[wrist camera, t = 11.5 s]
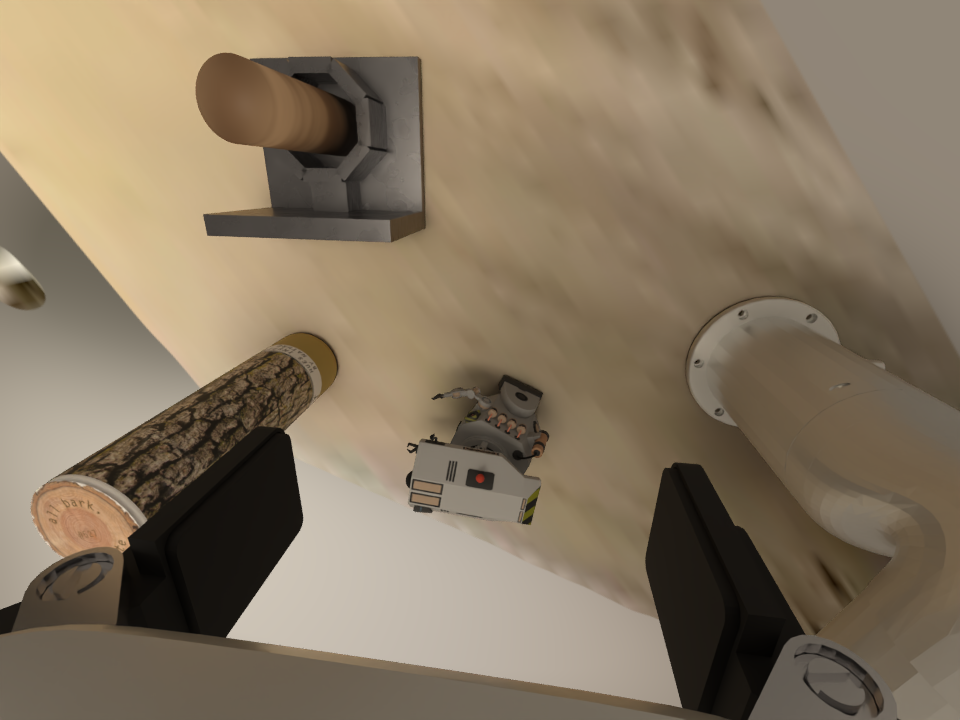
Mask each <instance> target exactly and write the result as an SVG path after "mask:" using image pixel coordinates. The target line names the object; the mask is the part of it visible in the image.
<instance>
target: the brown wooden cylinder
mask: <svg viewBox="0 0 960 720" xmlns="http://www.w3.org/2000/svg"><path fill="white" fill-rule="evenodd" d="M196 99H197V103H198V107H199V110H200V112H201V115H202V117H203V119H204V120H205V122H206V123H207V125H208V126H209V127H210V128H211V130H212V131H213V132H214V133H216V134H217V135H218V136H219V137H221V138H222V139H224V140H226V141H228V142H231V143H235V144H242V145H251V146H259V147H267V148H275V149H284V150H292V151H300V152H308V153H317V154H325V155H333V156H347V155H348V154H349V153H350V152H351V150H352V149H353V148H354V147H355V145H356V144H357V143H358V133H357V120H356V107H355V106H354V105H353V104H352V103H351V102H349V101H347V100H345V99H343V98H341V97H338V96H336V95H333V94H331V93H329V92H326V91H324V90H321V89H319V88H316V87H314V86H312V85H309V84H307V83H304V82H302V81H299V80H297V79H295V78H292V77H290V76H287V75H285V74H283V73H280V72H278V71H275V70H273V69H270V68H268V67H266V66H263V65H261V64H258V63H256V62H254V61H251V60H249V59H246V58H244V57H241V56H239V55H236V54H232V53H220V54H216V55H214V56H212V57H211V58H209V59H208V60H207V61H206V62H205V63H204V64H203V66H202V67H201V69H200V71H199V73H198V76H197V81H196Z"/></svg>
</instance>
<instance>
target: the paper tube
mask: <svg viewBox="0 0 960 720" xmlns="http://www.w3.org/2000/svg"><path fill="white" fill-rule="evenodd" d="M336 373H337V364H336V360H335V357H334V355H333V353H332V351H331V350H330V348H329V347H328V346H327V345H326V344H325V343H324V342H323V341H321V340H320V339H318V338H317V337H315V336H312V335H309V334H305V333H296V334H292V335H289V336H287V337H285V338H283V339H282V340H280V341H278V342H277V343H275V344H273V345H272V346H270V347H268V348H266V349H265V350H263V351H261V352H260V353H258V354H256V355H255V356H253V357H251V358H250V359H248V360H247V361H245V362H243V363H242V364H240V365H238V366H237V367H235V368H233V369H232V370H230V371H228V372H227V373H225V374H224V375H222V376H220V377H219V378H217V379H215V380H214V381H212V382H210V383H209V384H207V385H206V386H204V387H202V388H201V389H199V390H197V391H196V392H194V393H192V394H191V395H189V396H187V397H186V398H184V399H183V400H181V401H180V402H178V403H176V404H174V405H173V406H171V407H169V408H168V409H166V410H164V411H163V412H161V413H160V414H158V415H156V416H155V417H153V418H151V419H150V420H148V421H146V422H145V423H143V424H141V425H140V426H138V427H137V428H135V429H133V430H132V431H130V432H128V433H127V434H125V435H123V436H122V437H120V438H119V439H117V440H115V441H114V442H112V443H110V444H109V445H107V446H105V447H104V448H102V449H101V450H99V451H97V452H96V453H94V454H92V455H91V456H89V457H87V458H86V459H84V460H82V461H81V462H79V463H77V464H76V465H74V466H73V467H71V468H69V469H68V470H66V471H64V472H63V473H61V474H59V475H58V476H56V477H55V478H53V479H51V480H50V481H49V482H47V483H46V484H44V485H42V486H41V487H40V488H38V489H37V491H36V492H35V494H34V495H33V498H32V501H31V514H32V519H33V521H34V524H35V526H36V528H37V530H38V532H39V534H40V535H41V537H42V538H43V539H44V540H45V542H46V543H47V544H48V545H49V546H50V547H51V548H52V549H53V550H54V551H55V552H56V553H57V554H58V555H59V556H61V557H62V558H65V557H67V556H69V555H72V554H74V553H77V552H80V551H82V550H86V549H91V548H95V547H112V548H117V549H118V550H119V551H121V552H122V553H123V552H124V551H125V550H126V549H127V548H128V547H129V546H130V544H129V541H128V537H129V536H130V535H131V534H133V533H134V532H135V531H136V530H137V529H138V528H140V527H141V526H142V525H143V524H144V523H145V522H146V521H148V520H149V519H150V518H151V517H152V516H153V515H155V514H156V513H157V512H158V511H159V510H160V509H162V508H163V507H164V506H165V505H166V504H167V503H169V502H170V501H171V500H172V499H173V498H174V497H176V496H177V495H178V494H179V493H180V492H181V491H183V490H184V489H185V488H186V487H187V486H188V485H189V484H191V483H192V482H193V481H194V480H195V479H196V478H198V477H199V476H200V475H201V474H202V473H203V472H205V471H206V470H207V469H208V468H209V467H210V466H212V465H213V464H214V463H215V462H216V461H217V460H219V459H220V458H221V457H222V456H223V455H224V454H226V453H227V452H228V451H229V450H230V449H231V448H232V447H234V446H235V445H236V444H237V443H238V442H239V441H241V440H242V439H243V438H244V437H245V436H246V435H248V434H249V433H250V432H251V431H252V430H253V429H255V428H256V427H258V426H266V427H278V428H282V429H283V430H284V431H285V430H286V429H287V428H288V427H289V426H290V425H291V424H292V423H293V422H294V421H295V420H296V419H297V418H298V417H299V416H300V415H301V414H302V413H303V412H304V411H305V410H306V409H307V408H308V407H309V406H310V405H311V404H312V403H314V402H315V400H316V399H317V398H318V397H319V396H320V395H321V394H322V393H323V392H325V391H326V390H327V389H328V388H329V387H330V386H331V384H332V383H333V381H334V379H335V377H336Z"/></svg>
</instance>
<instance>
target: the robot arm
mask: <svg viewBox="0 0 960 720" xmlns="http://www.w3.org/2000/svg"><path fill="white" fill-rule="evenodd" d="M741 310H742V313H741V314H739V315H738V313H739V312H740V311H741ZM808 315H809V316H808ZM807 316H808V317H807ZM806 317H807V318H806ZM697 359H699V360H698V361H697V362H695V361H696V360H697ZM686 378H687V383H688V387H689V389H690V391H691V394H692V396H693V397H694V399H695V400H696V402H697V403H698V405H699V406H700V407H701V408H702V409H703V410H704V411H705V412H706V413H707V414H708V415H710V416H711V417H713V418H714V419H716V420H718V421H720V422H723V423H725V424H727V425H731V426H735V427H739V428H740V430H741V431H742V432H743V433H744V435H745V436H746V437H747V439H748V440H749V441H750V442H751V444H752V445H753V446H754V447H755V449H756V450H757V451H758V452H759V454H760V455H761V456H762V458H763V459H764V460H765V461H766V463H767V464H768V465H769V466H770V468H771V469H772V470H773V471H774V473H775V474H776V475H777V477H778V478H779V479H780V480H781V482H782V483H783V484H784V485H785V487H786V488H787V489H788V490H789V492H790V493H791V494H792V495H793V497H794V498H795V499H796V500H797V502H798V503H799V504H800V505H801V507H802V508H803V509H804V510H805V512H806V513H807V514H808V515H809V516H810V517H811V518H812V519H813V520H814V521H815V522H816V523H817V524H818V525H820V526H821V527H822V528H823V529H825V530H826V531H827V532H829V533H830V534H832V535H834V536H835V537H837V538H839V539H841V540H843V541H844V542H846V543H849V544H851V545H853V546H856V547H859V548H862V549H864V550H867V551H870V552H873V553H877V554H881V555H885V556H889V557H892V559H891V560H890V562H889V563H888V564H887V565H886V566H885V567H884V568H883V569H882V570H881V571H880V573H879V574H878V575H877V576H876V577H875V578H874V579H872V580H871V581H870V583H869V584H868V587H867V588H865V589H864V590H863V591H862V592H861V593H860V594H859V595H858V596H857V597H856V598H855V599H854V600H853V601H852V602H851V603H849V604H848V605H847V606H846V607H845V608H844V609H843V610H842V611H841V612H840V613H839V614H838V615H837V616H836V617H835V618H834V619H832V620H831V621H830V622H829V623H828V624H827V625H826V626H825V627H824V628H823V629H822V630H821V631H820V632H819V633H818V634H816V635H815V636H813V635H805V633H804V631H803V629H802V628H801V626H800V624H799V622H798V621H797V619H796V617H795V615H794V614H793V612H792V610H791V609H790V607H789V605H788V603H787V602H786V600H785V598H784V596H783V595H782V593H781V591H780V589H779V588H778V586H777V584H776V582H775V581H774V579H773V577H772V576H771V574H770V572H769V570H768V569H767V567H766V565H765V563H764V562H763V560H762V558H761V556H760V555H759V553H758V551H757V550H756V548H755V546H754V544H753V543H752V541H751V539H750V537H749V536H748V534H747V533H746V531H745V530H744V529H743V528H741V527H739V526H735V525H734V523H733V522H732V520H731V518H730V516H729V514H728V513H727V511H726V509H725V507H724V505H723V504H722V502H721V500H720V498H719V496H718V495H717V493H716V491H715V489H714V487H713V485H712V484H711V482H710V480H709V478H708V476H707V475H706V473H705V471H704V469H703V468H702V466H701V465H698V464H687V463H676V462H675V463H673V465H672V467H671V468H665V469H664V470H663V473H662V478H661V483H660V488H659V493H658V498H657V503H656V508H655V512H654V517H653V522H652V527H651V532H650V537H649V542H648V547H647V551H646V560H645V561H646V571H647V575H648V579H649V583H650V587H651V590H652V594H653V598H654V602H655V605H656V609H657V613H658V617H659V621H660V624H661V628H662V632H663V636H664V639H665V643H666V647H667V651H668V655H669V659H670V662H671V666H672V670H673V674H674V678H675V681H676V685H677V689H678V693H679V697H680V700H681V704H682V708H680V707H675V706H671V705H665V704H659V703H653V702H647V701H641V700H635V699H630V698H624V697H618V696H612V695H607V694H601V693H595V692H589V691H582V690H576V689H570V688H563V687H557V686H550V685H544V684H537V683H530V682H524V681H518V680H511V679H504V678H498V677H491V676H485V675H478V674H472V673H465V672H459V671H452V670H445V669H438V668H432V667H425V666H417V665H411V664H405V663H398V662H391V661H384V660H377V659H370V658H364V657H357V656H349V655H343V654H336V653H329V652H322V651H315V650H308V649H301V648H294V647H286V646H280V645H273V644H265V643H258V642H251V641H243V640H237V639H230V638H226V636H227V635H228V633H229V632H230V630H231V629H232V628H233V626H234V625H235V623H236V622H237V620H238V619H239V618H240V616H241V615H242V613H243V612H244V610H245V609H246V608H247V606H248V605H249V603H250V602H251V600H252V599H253V597H254V596H255V595H256V593H257V592H258V590H259V589H260V587H261V586H262V584H263V583H264V581H265V580H266V579H267V577H268V576H269V574H270V573H271V572H272V570H273V569H274V567H275V566H276V564H277V563H278V561H279V560H280V559H281V557H282V556H283V554H284V553H285V551H286V550H287V548H288V547H289V546H290V544H291V542H292V541H293V540H294V538H295V537H296V535H297V534H298V533H299V531H300V529H301V526H302V523H303V513H302V506H301V500H300V494H299V488H298V483H297V476H296V470H295V463H294V457H293V451H292V445H291V439H290V436H289V435H288V434H285V432H284V430H283V429H282V428H278V427H266V426H258V427H256V428H255V429H253V430H252V431H251V432H250V433H249V434H248V435H246V436H245V437H244V438H243V439H242V440H241V441H239V442H238V443H237V444H236V445H235V446H234V447H232V448H231V449H230V450H229V451H228V452H227V453H226V454H224V455H223V456H222V457H221V458H220V459H219V460H217V461H216V462H215V463H214V464H213V465H212V466H210V467H209V468H208V469H207V470H206V471H205V472H203V473H202V474H201V475H200V476H199V477H198V478H196V479H195V480H194V481H193V482H192V483H191V484H189V485H188V486H187V487H186V488H185V489H184V490H183V491H181V492H180V493H179V494H178V495H177V496H176V497H174V498H173V499H172V500H171V501H170V502H169V503H167V504H166V505H165V506H164V507H163V508H162V509H160V510H159V511H158V512H157V513H156V514H155V515H153V516H152V517H151V518H150V519H149V520H148V521H146V522H145V523H144V524H143V525H142V526H141V527H140V528H138V529H137V530H136V531H135V532H134V533H133V534H131V535H130V536H129V537H128V541H129V544H130V546H129V547H128V548H127V549H126V550H125V551H124V552H123V553H122V552H121V551H119V550H118V549H117V548H112V547H95V548H91V549H86V550H82V551H80V552H77V553H74V554H72V555H69V556H67V557H65V558H63V559H61V560H59V561H58V562H56V563H54V564H52V565H51V566H49V567H48V568H47V569H45V570H44V571H42V572H41V573H40V574H39V575H38V576H37V577H36V578H35V579H34V580H33V581H32V582H31V583H30V585H29V586H28V588H27V590H26V591H25V594H24V597H23V600H22V602H19V603H17V604H14V605H11V606H9V607H6V608H3V609H1V610H0V720H960V411H958V410H956V409H955V408H953V407H951V406H949V405H947V404H946V403H944V402H942V401H940V400H938V399H936V398H935V397H933V396H931V395H929V394H927V393H926V392H924V391H922V390H920V389H918V388H917V387H915V386H913V385H911V384H909V383H908V382H906V381H904V380H902V379H900V378H899V377H897V376H895V375H893V374H891V373H890V372H888V371H886V370H885V364H884V362H883V361H881V360H867V359H865V358H863V357H861V356H859V355H857V354H856V353H854V352H852V351H850V350H848V349H847V348H845V347H843V346H841V343H840V340H839V336H838V333H837V331H836V329H835V328H834V326H833V325H832V323H831V321H830V320H829V319H828V318H827V317H826V316H824V315H823V314H822V313H821V312H820V311H818V310H816V309H815V308H813V307H811V306H810V305H807V304H805V303H803V302H801V301H798V300H794V299H790V298H785V297H762V298H754V299H751V300H747V301H744V302H741V303H738V304H736V305H734V306H732V307H730V308H728V309H726V310H724V311H723V312H721V313H720V314H718V315H717V316H716V317H714V318H713V319H712V320H711V321H710V322H709V323H708V324H707V325H706V326H705V327H704V328H703V329H702V330H701V332H700V333H699V334H698V336H697V337H696V338H695V340H694V342H693V344H692V346H691V348H690V350H689V354H688V358H687V362H686ZM717 408H718V409H717ZM716 409H717V410H716Z"/></svg>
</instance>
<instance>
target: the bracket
mask: <svg viewBox="0 0 960 720" xmlns="http://www.w3.org/2000/svg"><path fill="white" fill-rule="evenodd" d="M250 60H251V61H254V62H256V63H258V64H261V65H263V66H266V67H268V68H270V69H273V70H275V71H278V72H280V73H283V74H285V75H287V76H290V77H292V78H295V79H297V80H299V81H302V82H304V83H307V84H309V85H312V86H314V87H316V88H319V89H321V90H324V91H326V92H329V93H331V94H333V95H336V96H338V97H341V98H343V99H345V100H347V101H349V102H351V103H352V104H353V105H354V106H355V107H356V120H357V133H358V143H357V144H356V145H355V147H354V148H353V149H352V150H351V152H350V153H349V154H348V155H347V156H333V155H325V154H317V153H308V152H300V151H292V150H284V149H275V148H267V147H263V149H264V156H265V163H266V170H267V176H268V183H269V190H270V197H271V204H272V207H271V208H261V209H251V210H241V211H231V212H221V213H211V214H203V216H204V221H205V226H206V231H207V236H232V237H259V238H286V239H314V240H341V241H368V242H393V241H395V240H398V239H400V238H403V237H405V236H408V235H410V234H413V233H415V232H417V231H420V230H422V229H425V196H424V158H423V120H422V83H421V59H420V58H419V57H346V58H332V57H288V58H260V59H250Z"/></svg>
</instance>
